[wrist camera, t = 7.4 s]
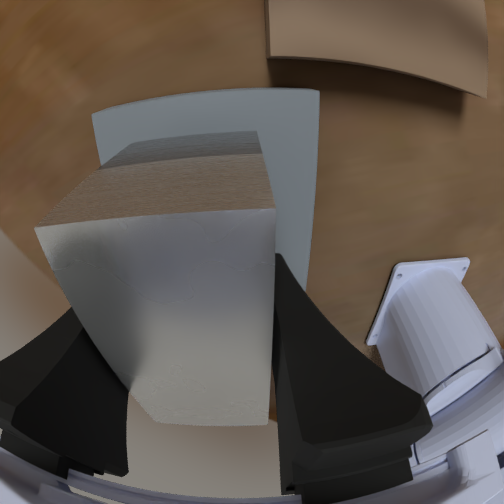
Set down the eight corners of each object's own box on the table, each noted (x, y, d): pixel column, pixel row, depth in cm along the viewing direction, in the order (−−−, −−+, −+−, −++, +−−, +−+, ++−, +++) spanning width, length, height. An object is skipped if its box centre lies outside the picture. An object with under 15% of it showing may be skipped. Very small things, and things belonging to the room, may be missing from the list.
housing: (256, 130, 9) (276, 208, 4) (260, 314, 14) (267, 424, 9) (131, 142, 9) (34, 227, 4) (173, 316, 14) (155, 422, 9)
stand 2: (465, 92, 11) (486, 98, 9) (266, 58, 11) (270, 55, 9) (462, -5, 7) (482, -7, 5) (261, -57, 7) (264, -73, 5)
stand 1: (299, 280, 19) (304, 301, 17) (152, 286, 19) (146, 306, 17) (308, 88, 12) (319, 91, 10) (109, 107, 12) (91, 114, 10)
